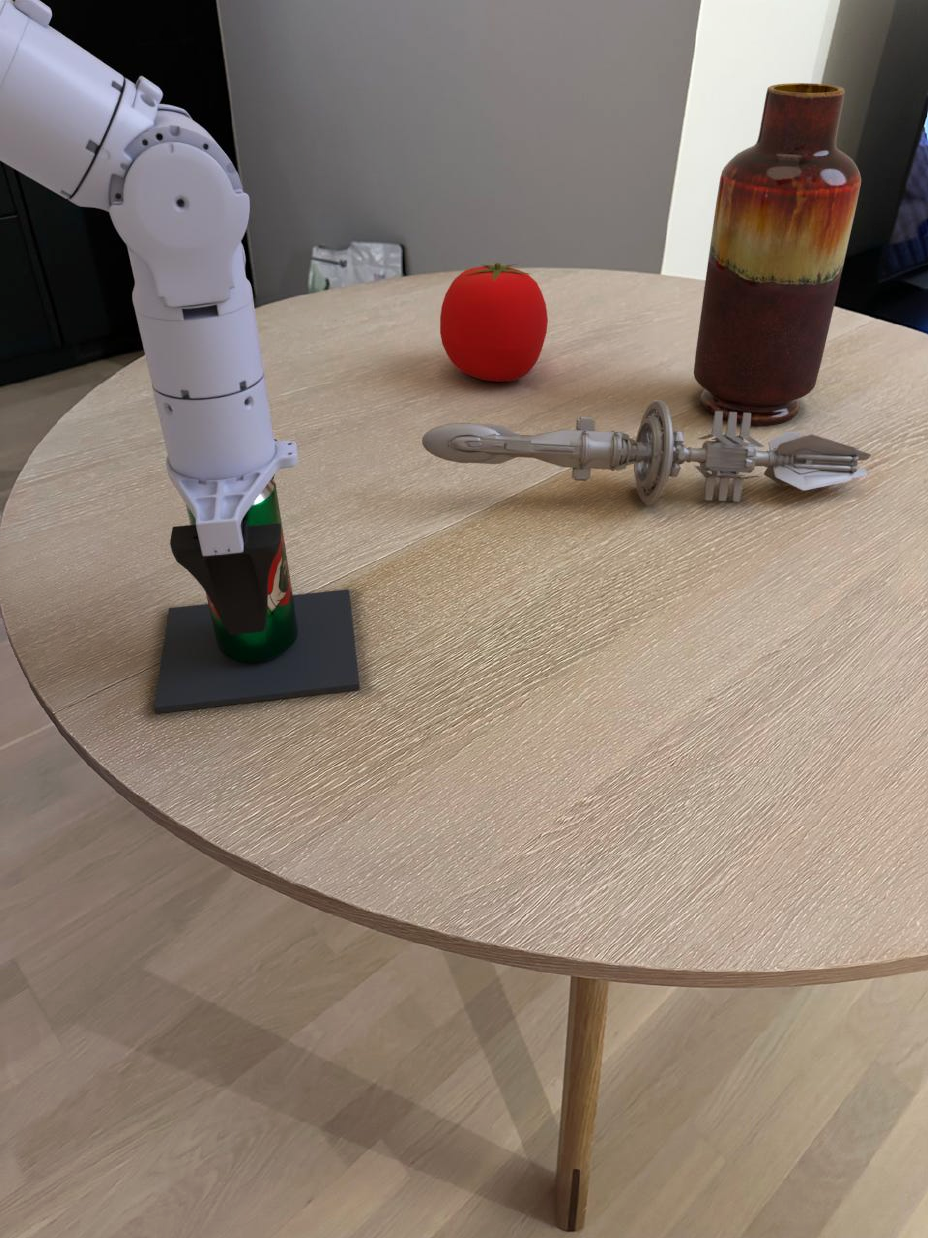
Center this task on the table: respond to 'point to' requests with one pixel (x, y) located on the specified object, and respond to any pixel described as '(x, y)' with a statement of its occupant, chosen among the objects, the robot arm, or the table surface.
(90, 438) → the table surface
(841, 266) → the vase
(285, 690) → the mat
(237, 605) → the robot arm
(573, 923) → the table surface
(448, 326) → the tomato
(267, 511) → the soda can
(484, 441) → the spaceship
